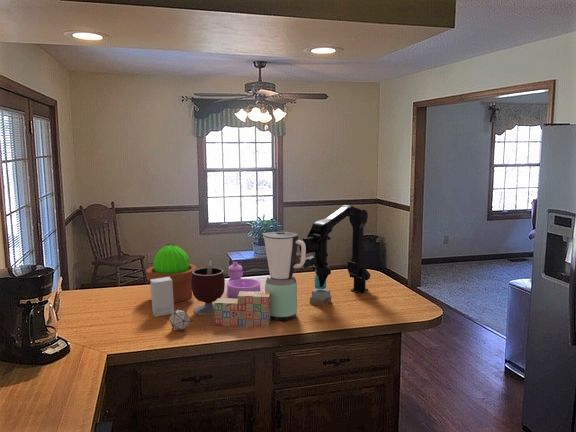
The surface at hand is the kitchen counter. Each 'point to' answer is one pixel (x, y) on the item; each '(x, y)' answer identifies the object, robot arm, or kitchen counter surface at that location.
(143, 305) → the kitchen counter surface
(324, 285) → the teal domed cylinder
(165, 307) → the skincare box
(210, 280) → the mate gourd
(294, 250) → the blender
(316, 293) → the tower top
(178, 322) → the game die
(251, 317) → the stack of blocks
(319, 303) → the tower base
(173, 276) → the potted cactus
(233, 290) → the purple toy boat
